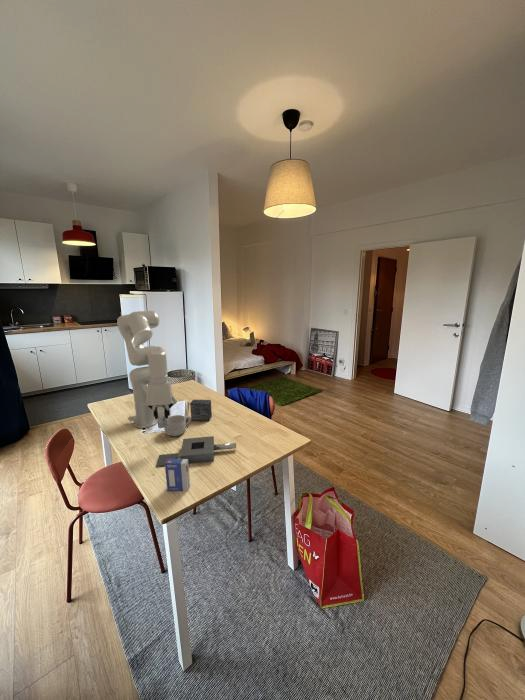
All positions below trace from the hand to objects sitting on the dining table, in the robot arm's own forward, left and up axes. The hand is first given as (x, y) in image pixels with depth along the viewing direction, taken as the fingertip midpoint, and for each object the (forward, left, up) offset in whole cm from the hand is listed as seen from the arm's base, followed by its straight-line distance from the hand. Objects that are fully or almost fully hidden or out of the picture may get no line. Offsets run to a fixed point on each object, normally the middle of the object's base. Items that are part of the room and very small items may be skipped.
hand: (162, 417), depth 129 cm
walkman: (+9, -28, -17) cm, 34 cm away
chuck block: (+20, -6, -16) cm, 27 cm away
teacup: (+4, +15, -17) cm, 23 cm away
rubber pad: (+2, -9, -16) cm, 19 cm away
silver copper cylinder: (0, 0, -4) cm, 4 cm away
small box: (+15, +29, -17) cm, 37 cm away
